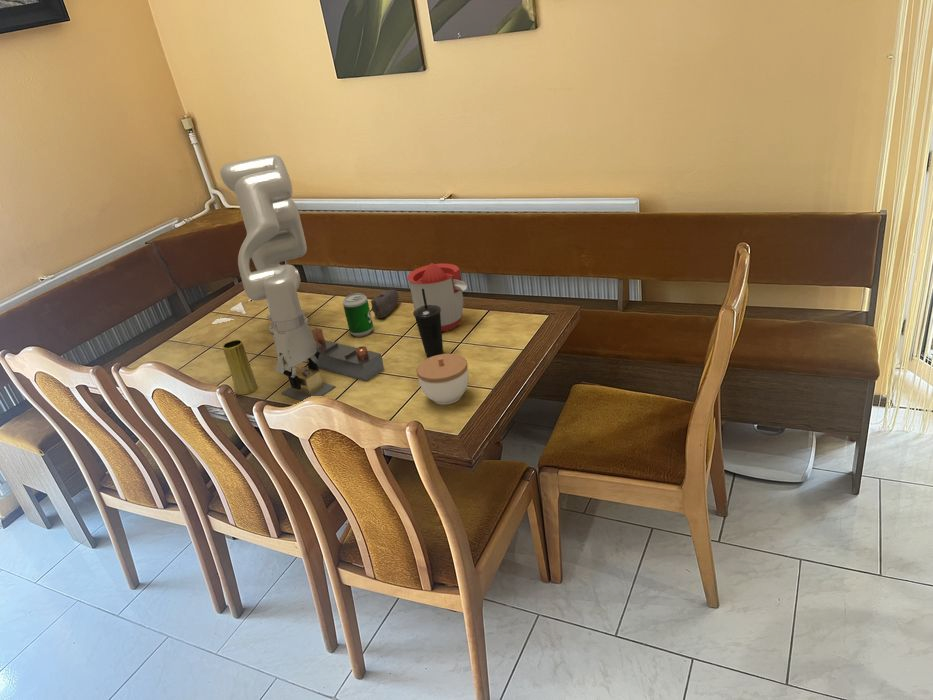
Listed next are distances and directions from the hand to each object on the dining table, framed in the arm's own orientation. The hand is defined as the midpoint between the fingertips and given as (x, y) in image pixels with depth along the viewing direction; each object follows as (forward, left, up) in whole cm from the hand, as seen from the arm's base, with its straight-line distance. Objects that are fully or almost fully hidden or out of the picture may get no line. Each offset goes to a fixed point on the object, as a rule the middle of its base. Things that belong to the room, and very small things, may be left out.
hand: (306, 381), depth 193 cm
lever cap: (0, 0, -2) cm, 2 cm away
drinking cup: (+20, +30, -3) cm, 36 cm away
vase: (-18, -7, -3) cm, 20 cm away
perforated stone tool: (-15, +48, -3) cm, 51 cm away
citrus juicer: (+10, +47, -3) cm, 48 cm away
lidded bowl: (+38, +13, -3) cm, 40 cm away
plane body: (0, +14, -3) cm, 14 cm away
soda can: (-12, +33, -3) cm, 35 cm away
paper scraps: (-69, +26, -4) cm, 74 cm away
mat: (0, 0, -3) cm, 3 cm away
